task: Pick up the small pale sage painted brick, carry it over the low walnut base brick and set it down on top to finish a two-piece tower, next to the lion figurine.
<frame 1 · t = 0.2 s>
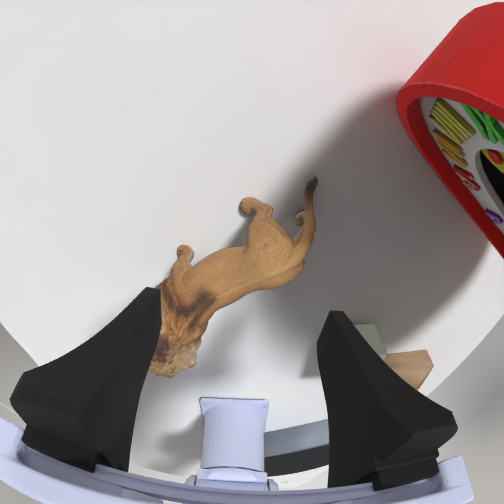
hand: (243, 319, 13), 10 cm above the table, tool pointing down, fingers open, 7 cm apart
external hard drive: (280, 443, 42), on the table
toy clock: (459, 150, 18), on the table
base brick: (390, 372, 31), on the table
lion figurine: (232, 245, 23), on the table
sage brick: (347, 340, 28), on the table
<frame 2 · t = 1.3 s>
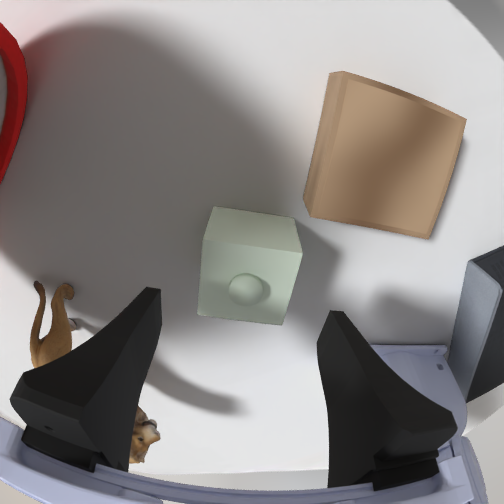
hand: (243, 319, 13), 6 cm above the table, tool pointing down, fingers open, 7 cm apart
external hard drive: (497, 315, 23), on the table
base brick: (377, 151, 15), on the table
lion figurine: (108, 338, 23), on the table
sage brick: (247, 246, 18), on the table
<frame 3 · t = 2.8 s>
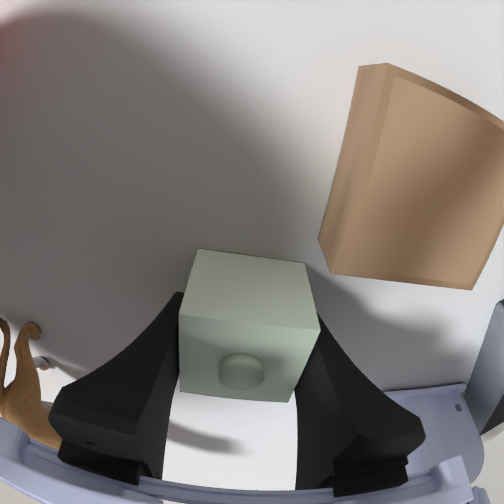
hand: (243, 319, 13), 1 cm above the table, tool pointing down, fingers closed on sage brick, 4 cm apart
base brick: (417, 176, 11), on the table
lion figurine: (85, 379, 19), on the table
sage brick: (244, 297, 14), on the table, touching gripper
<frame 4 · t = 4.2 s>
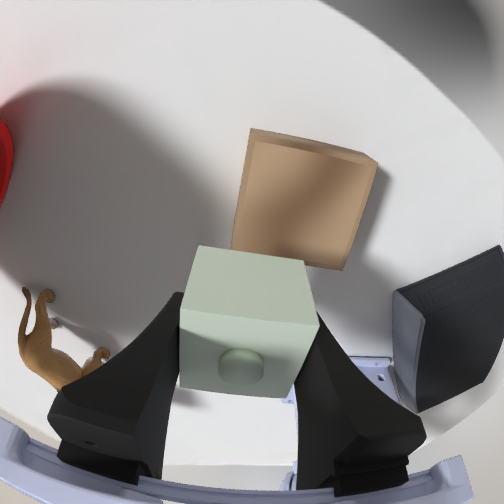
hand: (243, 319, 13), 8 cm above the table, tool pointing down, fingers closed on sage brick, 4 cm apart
external hard drive: (445, 333, 27), on the table
base brick: (296, 193, 19), on the table
lion figurine: (84, 335, 26), on the table
sage brick: (243, 294, 14), point 7 cm above the table, touching gripper
when the fingers open (5 cm above the table, at t = 6.1 s): sage brick stays where it is, resting on base brick.
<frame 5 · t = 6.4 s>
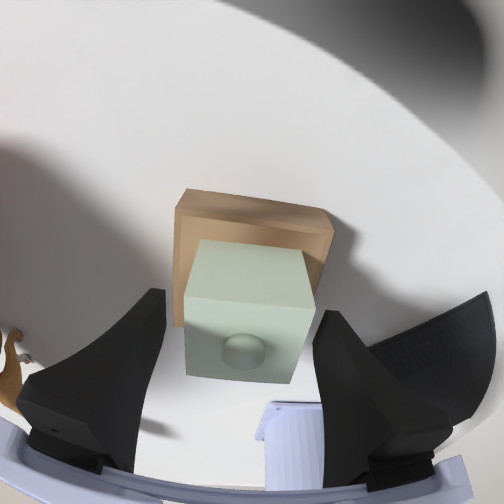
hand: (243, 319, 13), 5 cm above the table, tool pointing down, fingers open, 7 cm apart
external hard drive: (427, 375, 25), on the table
base brick: (245, 257, 17), on the table
lion figurine: (55, 370, 24), on the table
sage brick: (245, 285, 15), point 3 cm above the table, touching base brick
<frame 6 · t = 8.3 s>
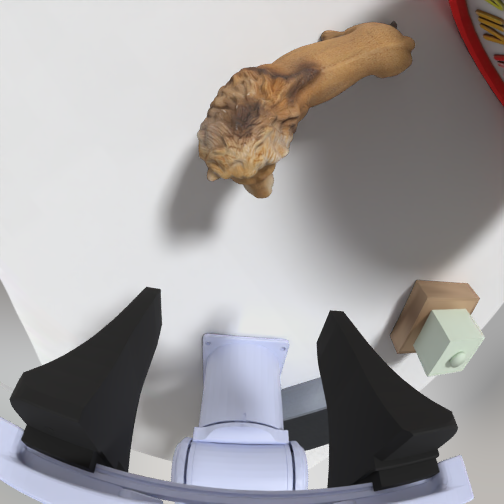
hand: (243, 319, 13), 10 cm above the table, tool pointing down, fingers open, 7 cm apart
external hard drive: (285, 412, 36), on the table
toy clock: (494, 54, 14), on the table
base brick: (430, 310, 26), on the table
lion figurine: (307, 83, 17), on the table
sage brick: (440, 327, 24), point 3 cm above the table, touching base brick
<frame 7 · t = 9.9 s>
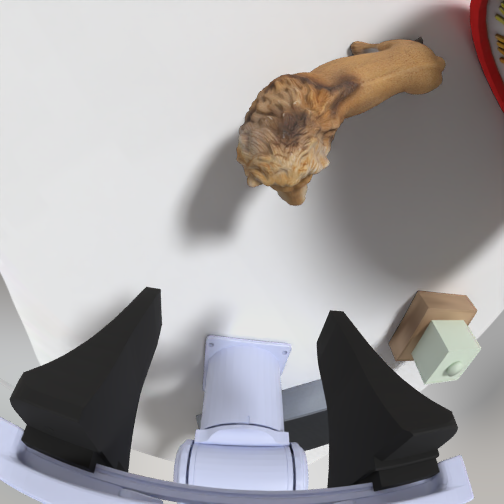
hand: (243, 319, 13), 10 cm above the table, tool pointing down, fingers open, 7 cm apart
external hard drive: (279, 414, 37), on the table
base brick: (428, 320, 27), on the table
lion figurine: (334, 92, 17), on the table
sage brick: (438, 337, 25), point 3 cm above the table, touching base brick
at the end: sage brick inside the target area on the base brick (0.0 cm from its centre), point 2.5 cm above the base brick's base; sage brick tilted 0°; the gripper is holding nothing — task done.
